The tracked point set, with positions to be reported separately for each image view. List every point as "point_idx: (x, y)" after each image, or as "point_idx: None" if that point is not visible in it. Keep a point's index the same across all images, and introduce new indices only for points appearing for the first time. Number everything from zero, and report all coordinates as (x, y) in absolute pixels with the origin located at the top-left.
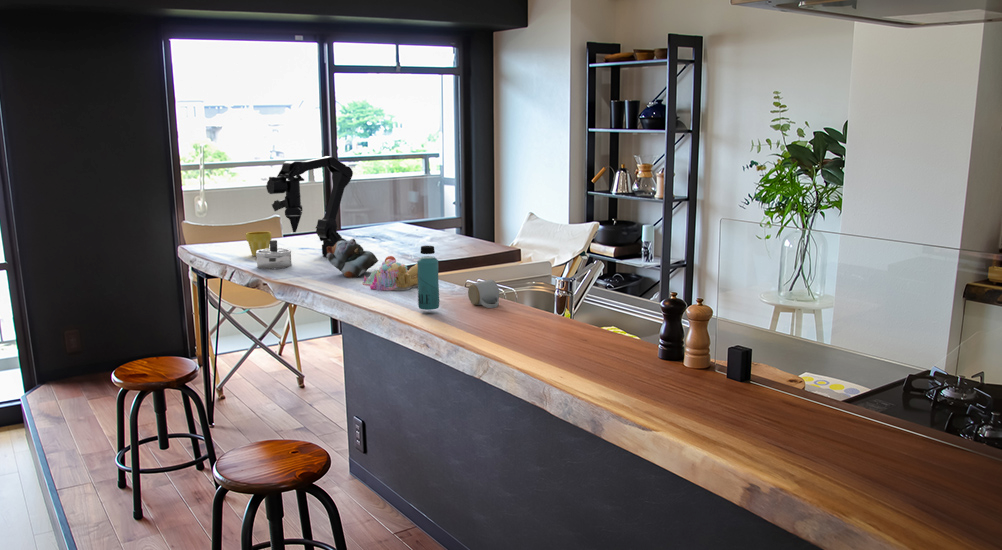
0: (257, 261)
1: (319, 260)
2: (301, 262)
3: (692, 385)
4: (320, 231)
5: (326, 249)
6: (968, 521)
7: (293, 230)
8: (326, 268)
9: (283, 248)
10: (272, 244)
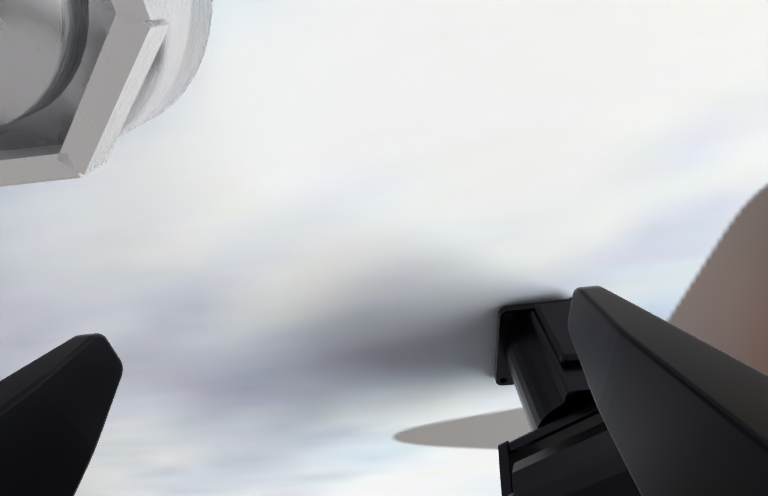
0: None
1: (360, 296)
2: (274, 189)
3: None
4: (595, 489)
5: (531, 358)
6: None
7: (47, 370)
8: None
9: (111, 62)
10: None
